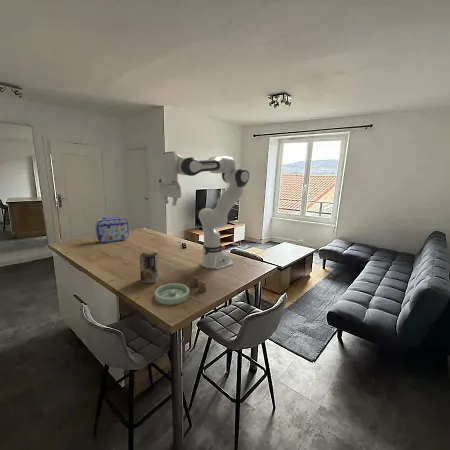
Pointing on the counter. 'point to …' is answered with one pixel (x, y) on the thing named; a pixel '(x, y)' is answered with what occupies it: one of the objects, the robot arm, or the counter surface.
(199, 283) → the brown short cylinder
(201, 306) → the counter surface
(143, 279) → the coffee box
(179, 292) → the tray
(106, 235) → the lunch box
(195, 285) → the bead
